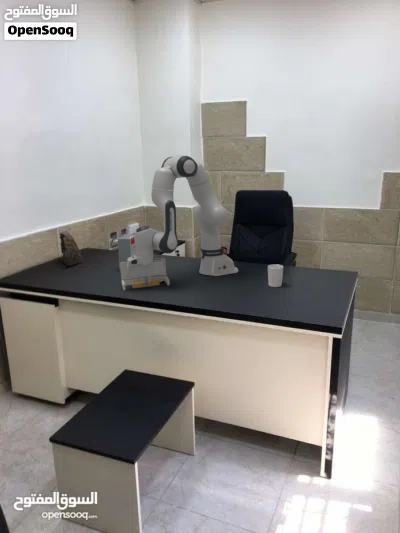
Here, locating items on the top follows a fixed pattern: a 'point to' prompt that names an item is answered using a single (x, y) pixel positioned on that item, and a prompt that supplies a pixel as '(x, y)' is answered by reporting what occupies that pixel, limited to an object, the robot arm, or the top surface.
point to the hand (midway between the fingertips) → (146, 284)
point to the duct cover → (123, 276)
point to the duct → (129, 282)
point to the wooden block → (146, 284)
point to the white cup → (275, 275)
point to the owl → (70, 249)
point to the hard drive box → (126, 247)
